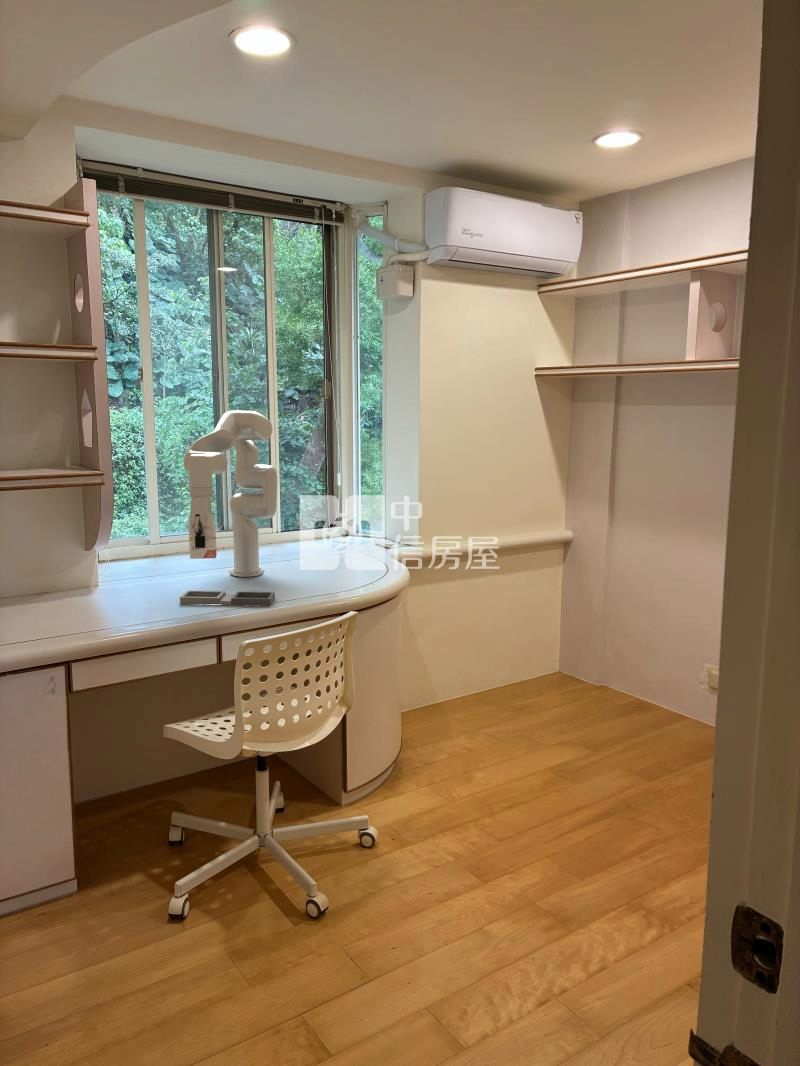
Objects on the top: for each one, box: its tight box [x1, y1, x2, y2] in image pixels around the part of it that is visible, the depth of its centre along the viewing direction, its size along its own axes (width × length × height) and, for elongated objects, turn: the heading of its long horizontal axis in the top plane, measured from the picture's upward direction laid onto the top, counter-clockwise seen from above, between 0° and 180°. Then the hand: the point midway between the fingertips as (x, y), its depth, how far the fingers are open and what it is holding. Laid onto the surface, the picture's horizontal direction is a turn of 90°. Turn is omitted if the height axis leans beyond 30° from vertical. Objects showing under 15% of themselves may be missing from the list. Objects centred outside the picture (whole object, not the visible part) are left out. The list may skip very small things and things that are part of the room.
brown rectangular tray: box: [179, 590, 226, 605], centre depth 267 cm, size 9×13×2 cm
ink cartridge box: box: [188, 514, 217, 560], centre depth 263 cm, size 9×5×15 cm, turn 100°
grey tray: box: [219, 591, 276, 607], centre depth 267 cm, size 9×17×2 cm, turn 89°
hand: (202, 545), depth 264 cm, fingers closed on ink cartridge box, 5 cm apart
